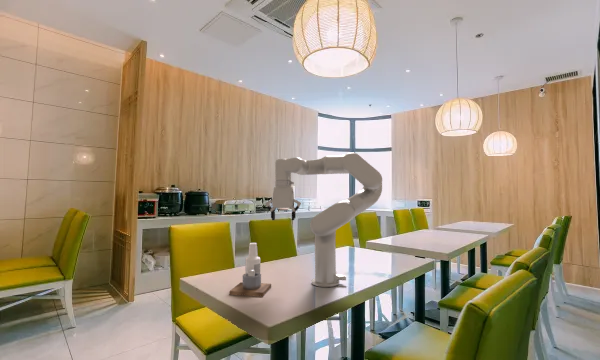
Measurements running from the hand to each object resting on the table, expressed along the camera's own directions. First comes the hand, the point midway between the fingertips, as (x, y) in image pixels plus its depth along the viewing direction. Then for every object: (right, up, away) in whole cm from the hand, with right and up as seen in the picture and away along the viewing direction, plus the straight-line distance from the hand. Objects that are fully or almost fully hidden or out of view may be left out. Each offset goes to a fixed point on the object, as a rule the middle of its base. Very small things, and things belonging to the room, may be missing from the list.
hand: (283, 220), depth 134 cm
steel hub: (-12, -26, -17) cm, 33 cm away
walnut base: (-12, -27, -17) cm, 34 cm away
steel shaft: (-12, -26, -17) cm, 33 cm away
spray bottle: (-14, -28, -6) cm, 32 cm away
